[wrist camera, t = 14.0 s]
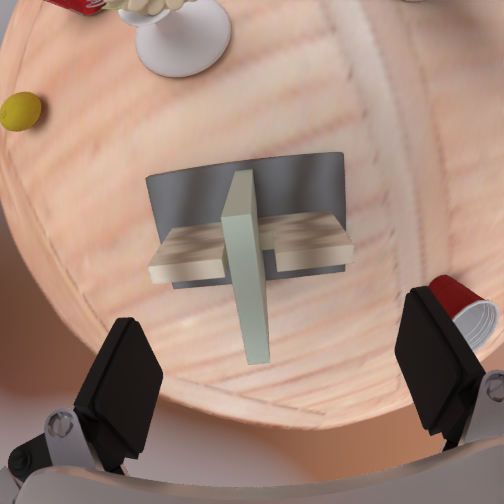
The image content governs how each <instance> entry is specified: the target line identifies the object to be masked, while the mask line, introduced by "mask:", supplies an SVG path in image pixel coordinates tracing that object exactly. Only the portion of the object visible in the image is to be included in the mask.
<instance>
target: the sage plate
mask: <svg viewBox="0 0 504 504" xmlns="http://www.w3.org/2000/svg"><path fill="white" fill-rule="evenodd" d="M221 221H222V227H223V233H224V239H225V244H226V250H227V256H228V261H229V267H230V273H231V278H232V284H233V289H234V294H235V300H236V305H237V310H238V316H239V321H240V326H241V331H242V337H243V342H244V347H245V352H246V357H247V362H248V365H251V364H264V363H270V351H269V332H268V314H267V297H266V280H265V268H264V260H263V252H262V250H261V246H260V238H259V229H258V221H257V202H256V194H255V186H254V178H253V170H252V169H249V170H241V171H235V174H234V177H233V180H232V183H231V186H230V189H229V193H228V196H227V199H226V202H225V206H224V209H223V212H222V215H221Z"/></svg>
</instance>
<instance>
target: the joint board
mask: <svg viewBox="0 0 504 504" xmlns="http://www.w3.org/2000/svg"><path fill="white" fill-rule="evenodd" d="M249 169H252V170H253V178H254V186H255V194H256V202H257V221H258V229H259V238H260V246H261V250H262V252H263V260H264V268H265V280H275V279H284V278H294V277H302V276H311V275H320V274H328V273H336V272H344V271H345V264H350V263H354V243H353V242H352V240H351V239H350V237H349V236H348V235H347V233H346V202H345V170H344V153H342V152H329V153H314V154H301V155H289V156H279V157H269V158H260V159H251V160H243V161H235V162H228V163H221V164H214V165H207V166H201V167H195V168H189V169H183V170H177V171H171V172H166V173H161V174H155V175H150V176H148V177H147V178H145V179H146V184H147V189H148V193H149V197H150V202H151V206H152V210H153V214H154V219H155V223H156V227H157V231H158V235H159V238H160V242H161V246H160V248H159V249H158V251H157V252H156V254H155V256H154V257H153V259H152V260H151V262H150V264H149V265H148V270H149V273H150V276H151V279H152V282H153V284H158V283H169V282H172V285H173V289H181V288H193V287H204V286H215V285H226V284H232V278H231V273H230V267H229V261H228V256H227V250H226V244H225V239H224V233H223V227H222V221H221V215H222V212H223V209H224V206H225V202H226V199H227V196H228V193H229V189H230V186H231V183H232V180H233V177H234V174H235V171H241V170H249Z"/></svg>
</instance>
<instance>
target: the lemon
mask: <svg viewBox="0 0 504 504" xmlns="http://www.w3.org/2000/svg"><path fill="white" fill-rule="evenodd" d="M40 114H41V102H40V99H39V98H38V97H37V96H36V95H35V94H33V93H30V92H20V93H16V94H14V95H12V96H10V97H9V98H8V99H7V100H6V101H5V102H4V103H3V105H2V107H1V110H0V122H1V124H2V126H3V127H4V128H5V129H7V130H9V131H16V132H18V131H23V130H26V129H28V128H30V127H31V126H33V125H34V124H35V123H36V121H37V120H38V118H39V116H40Z"/></svg>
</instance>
